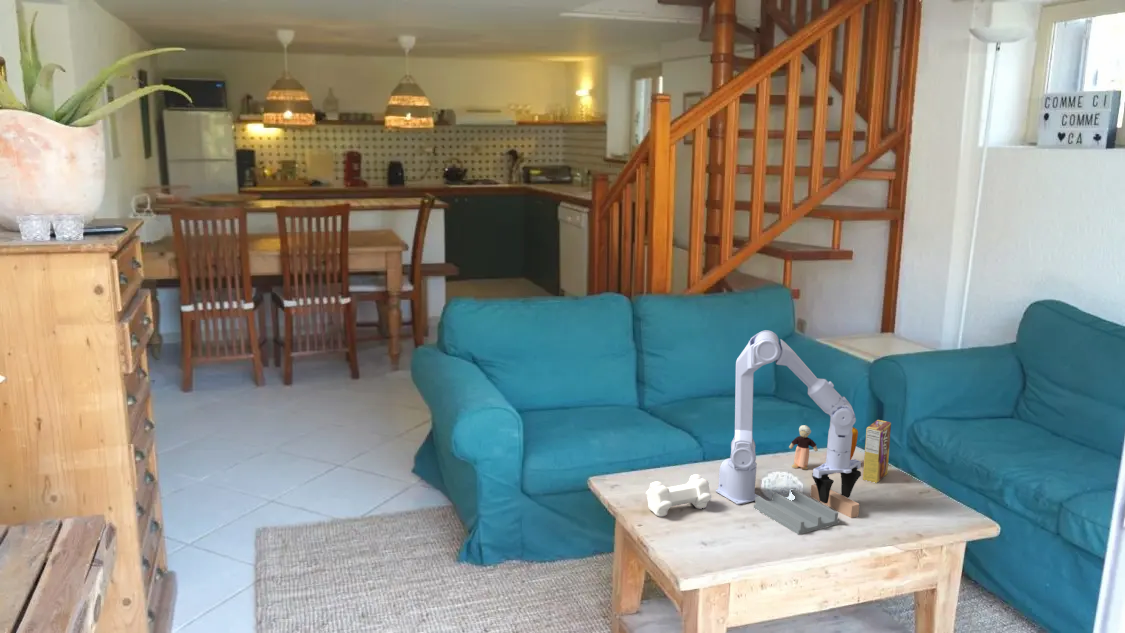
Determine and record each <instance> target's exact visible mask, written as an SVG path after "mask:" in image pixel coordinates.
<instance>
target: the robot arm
mask: <svg viewBox="0 0 1125 633" xmlns="http://www.w3.org/2000/svg"><path fill="white" fill-rule="evenodd" d="M773 362H775V364H776V365H778V366H786V367H787V368H788V369H789V370H790V371H792V373H793V374H794V375H795V376H796V377H797V378H798V379H799V380H800V381H801V382H803V384H804V385H806V387H807V395H808V396H809V398H810V399H811V400H813V402H814V403H815V404H816V405H817V406H818V407H819V409H820V410H822V411H823V412H824V413H825V414H827V415H828V416H829V418H830V420H829V429H828V433H827V434H828V435H827V444H826V445H827V446H826V457H825V462H824V463H822V464H821V465H819V466H817V467H815V468H813V471H812V475H811V477H812V479H813V481H814V483H815V484H816V486H817V489H818V494H819V499H820V501H821V502H823V503H828V499H829V493H830V489H831V490H832V486H833V483H834V480H833V479H831V478H830V476H829V475H833V474H837V473H838V474H839V473H840V481H841V488H840V491H841V494H840V495H842V496H844V497H846V498H848V499H850V497H851V494H852V491H853V490H854V487H855V484H856V483H857V481H858V480H859V478H860V477H861V476H862V472H861V471H860V470H859V469H861V468H862V467H861V466H862V465H861V464H862V461H861V460H859V459H856V458H854V459H851V460H850V454H851V444H852V429H853V427H854V425H855V424H856V421H857V418H856V414H855V412H854V409H853V406H852V405H851V403H850V401H848V400H847V398H846V397H845V396H842V395H841V394H840V393H839V392H838V391H837V390H836V389H835V388H834V387H835V385H834V383H833V382H832V381H831V380H830V381H828V380H827V378H817V376H816V375H815V374H814V373H813V372H812V370H811V369H810V368H809V367H808V366H807V365H806V364H805V362H804V361H803V360H802V359H801V358H800V356H798V354H797V353H796V352H795V351H794V350H793V349H792V348H791V347H790V346H789V345H788V344H787V342H785V341H784V340H783V339H781V338H780V339H779V336H778V334H776V332H773V331H772V330H767V329H765V330H762V331H760V332H758V333H756V334H754V335H753V336H752V337H750V340H748V343H747V344H746V346H745V347H744V349H743V350H742V351H741V353H740V354H739V356H738V357H737V359H736V361H735V391H734V392H735V394H734V396H735V399H734V401H735V402H734V405H735V406H734V437H733V439H732V441H731V442H730V449H731V450H730V457H729V458H726V459H724V460H723V461H722V463H721V464H720V466H719V470H718V471H719V472H718V473H719V474H718V486H717V487H718V488H716V489H715V492H716V493H717V494H719V495H721V496H723V497H725V498H726V499H728V500H730V501H731V502H733V503H734V504H736V505H742V504H747V503H752V502H756V497H758V496H759V497H761V498H763V497H762V496H760V495H758V494H756V480H757V478H756V477H757V465H758V463H757V462H756V460H757V454H756V442H755V440H754V438H753V416H754V410H753V409H754V373H755V372H756V371H757V370H759V369H760V368H761V367H763V366H765V365H768V364H771V363H773ZM821 502H820V503H821ZM823 503H822V504H823Z"/></svg>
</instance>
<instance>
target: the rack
mask: <svg viewBox="0 0 1125 633" xmlns="http://www.w3.org/2000/svg"><path fill="white" fill-rule="evenodd" d="M791 492H792V494H793V495H794V496H795V499H794V500H792V501H791V500H789V499H787V498H785V497H786V496H783V495H781V494H780V493H777V492H772V494H771V495H772V497H771V500H766V499H765V498H763V497H762V496H760V495H758V497H756V501H754V502H755V504H753V509H754V508H755V509H754V510H756V509H757V510H759V511H760V512H759V511H758V512H759V513H761V512H762V513H764V514H765V515H764V514H763V515H764V516H766V515H767V516H766V517H768V518H769V517H770V519H771V518H772V519H771V520H772V521H774V520H775V521H774V522H776V523H778V524H780V526H783V527H785V528H786V529H788V530H790V531H792V532H794V534H797V535H801V534H805V533H809V532H813V531H816V530H817V531H818V530H821V529H824V528H827V527H831V526H836V525H839V524H840V522H839V521H840V519H839V517H838V516H839V512H838V511H837V510H835V509H833V508H831V507H829V506H827V505H825V504H823V503H821V502H819V501H818V500H816V499H814V498H812V497H809V496H807V495H805V494H804V493H801V492H799V491H798V490H795V489H794V490H791ZM759 496H760V497H759ZM761 497H762V498H761ZM757 510H756V511H757ZM762 513H761V514H762Z"/></svg>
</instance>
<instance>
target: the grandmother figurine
mask: <svg viewBox="0 0 1125 633" xmlns="http://www.w3.org/2000/svg"><path fill="white" fill-rule="evenodd" d="M798 432H799V436H796V437H795V438H794V439H793V440H791V443H790V445H789V446H788V448H789V449H791V450H792V449H793V448H794V447H795V445H797V446H796V448H795V453H794V459H793V464H792V465H791V468H793V469H799V468H800V469H801V470H804V471H806V470H809V468H808V465H809V460H810V447H811V448H813V451H814V452H818V447H817V443H816V442H815V441H814V440H813V439H811V438H810V437H809V435H810V434H811V433H812V430H811V428H810V427H809V426H808V425H807V424H805V425H804V424H803V425H802V424H801V425H800V426H799V428H798Z"/></svg>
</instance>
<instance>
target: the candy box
mask: <svg viewBox="0 0 1125 633" xmlns="http://www.w3.org/2000/svg"><path fill="white" fill-rule="evenodd" d="M891 428H892V422H891V421H886V420H880V419H877V420H875V421H874V422H873V423H871V424H870V425H869V426H867V427H866V430H865V431H866V432H865V442H864V443H865V444H864V445H865V446H864V455H863V456H864V457H863V458H864V459H863V472H862V480H863V481H865V480H867V482H869V481H871V482H870V483H873V482H875V483H874V484H878V483H879V482H880V481H881V480H882V479H884V477H886V475H888V472H889V471H888V469H889V459H890V458H889V456H890V444H891V443H890V442H891ZM877 482H878V483H877Z"/></svg>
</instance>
